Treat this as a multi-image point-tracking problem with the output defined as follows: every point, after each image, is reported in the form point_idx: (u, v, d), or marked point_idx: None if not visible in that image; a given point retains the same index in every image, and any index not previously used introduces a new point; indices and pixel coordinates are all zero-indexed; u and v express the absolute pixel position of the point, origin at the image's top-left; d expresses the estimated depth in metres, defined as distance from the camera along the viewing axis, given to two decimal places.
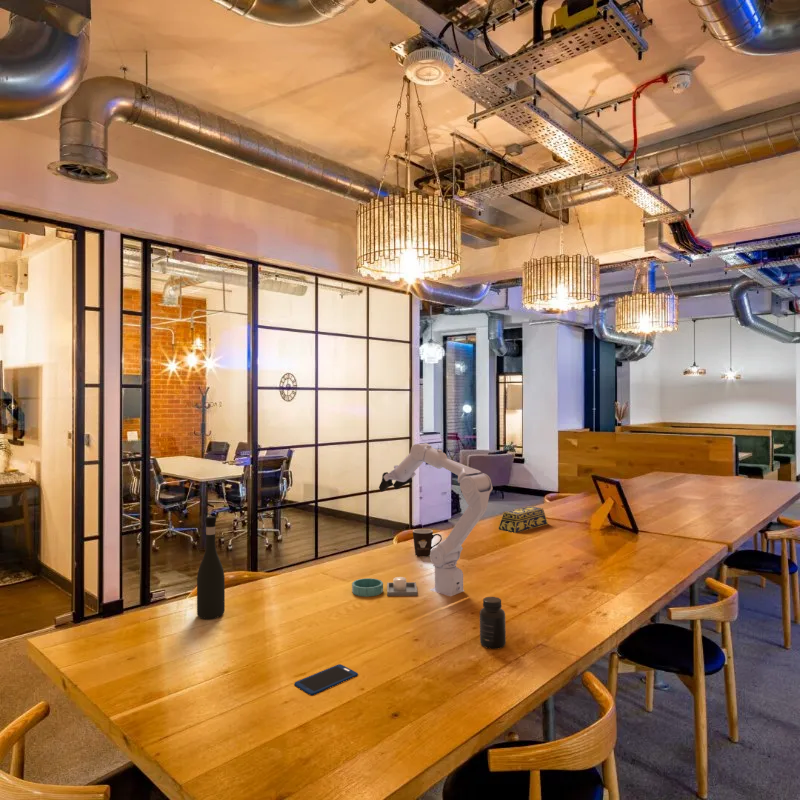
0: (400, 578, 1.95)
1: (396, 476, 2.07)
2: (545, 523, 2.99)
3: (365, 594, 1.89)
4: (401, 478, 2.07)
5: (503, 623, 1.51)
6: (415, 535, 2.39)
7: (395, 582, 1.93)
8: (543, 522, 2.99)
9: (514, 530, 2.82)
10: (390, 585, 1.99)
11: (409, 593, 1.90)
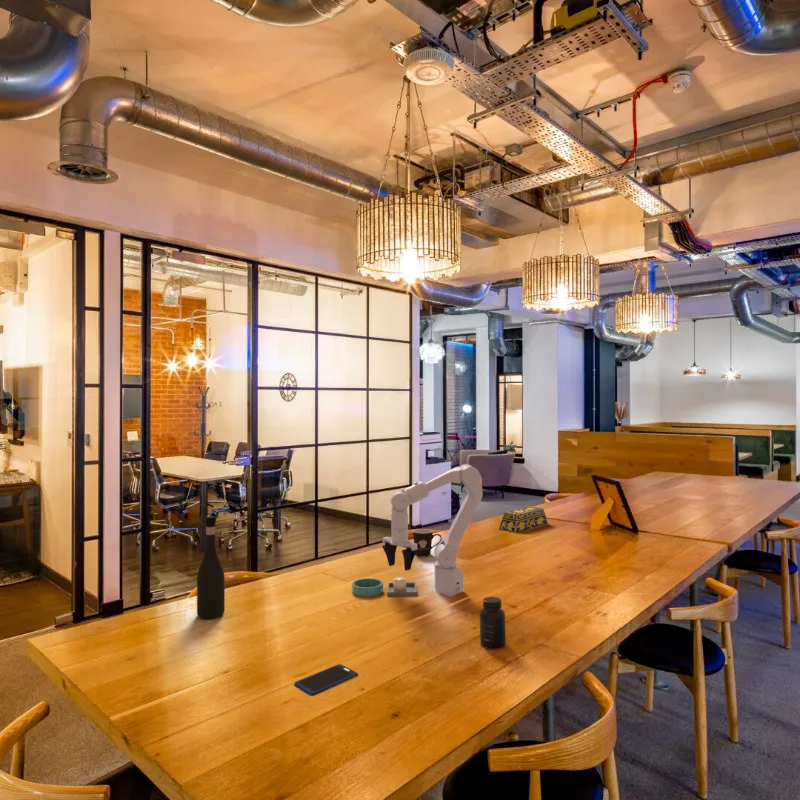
0: (400, 578, 1.95)
1: (407, 541, 1.93)
2: (545, 523, 2.99)
3: (365, 594, 1.89)
4: None
5: (503, 623, 1.51)
6: (415, 535, 2.39)
7: (395, 582, 1.93)
8: (544, 522, 2.98)
9: (515, 530, 2.81)
10: (390, 585, 1.99)
11: (409, 593, 1.90)
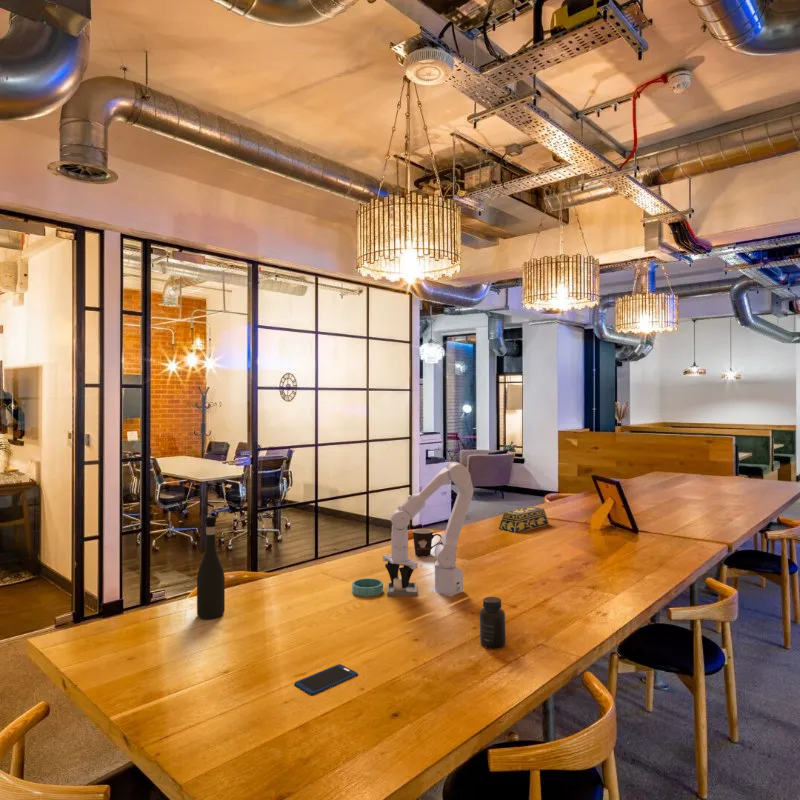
0: (400, 578, 1.95)
1: (407, 560, 1.93)
2: (546, 523, 2.99)
3: (365, 594, 1.89)
4: None
5: (503, 623, 1.51)
6: (415, 535, 2.39)
7: (395, 582, 1.93)
8: (544, 522, 2.98)
9: (514, 530, 2.82)
10: (390, 585, 1.99)
11: (409, 593, 1.90)
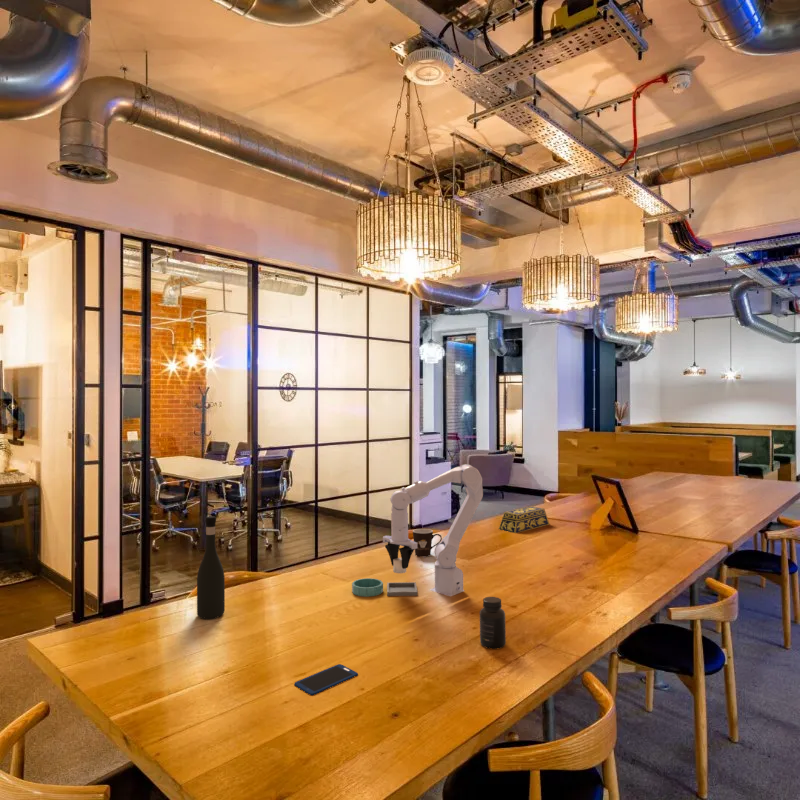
0: (400, 558, 1.95)
1: (407, 540, 1.93)
2: (546, 523, 2.99)
3: (365, 594, 1.89)
4: None
5: (503, 623, 1.51)
6: (415, 535, 2.39)
7: (395, 563, 1.93)
8: (545, 522, 2.98)
9: (514, 530, 2.81)
10: (390, 585, 1.99)
11: (409, 593, 1.90)
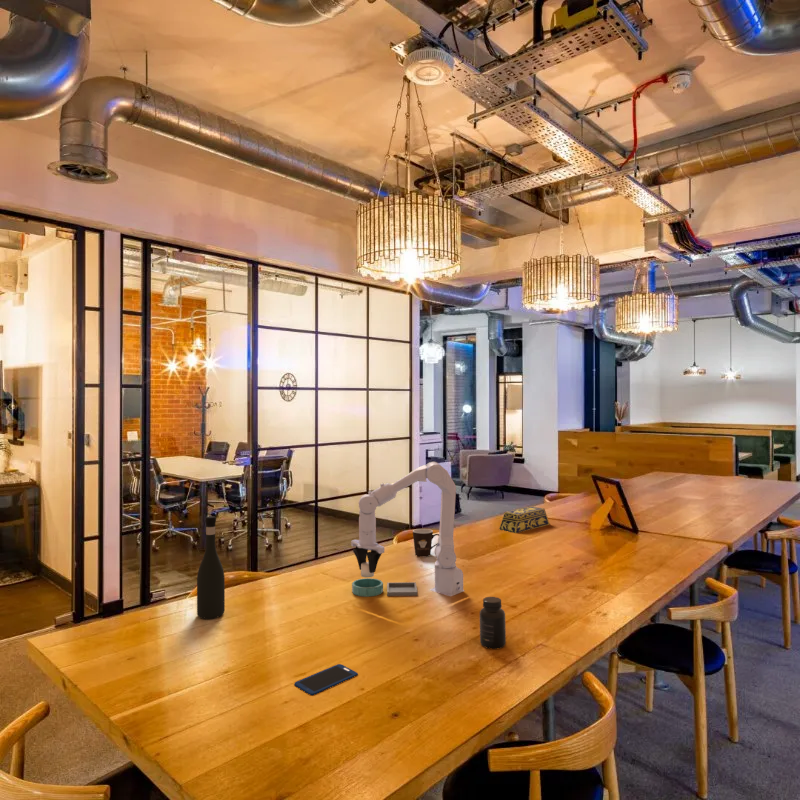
0: (368, 563, 1.95)
1: (374, 544, 1.92)
2: (547, 523, 2.99)
3: (365, 594, 1.89)
4: (375, 541, 1.94)
5: (503, 623, 1.51)
6: (415, 535, 2.39)
7: (362, 567, 1.92)
8: (545, 522, 2.98)
9: (515, 530, 2.81)
10: (390, 585, 1.99)
11: (409, 593, 1.90)
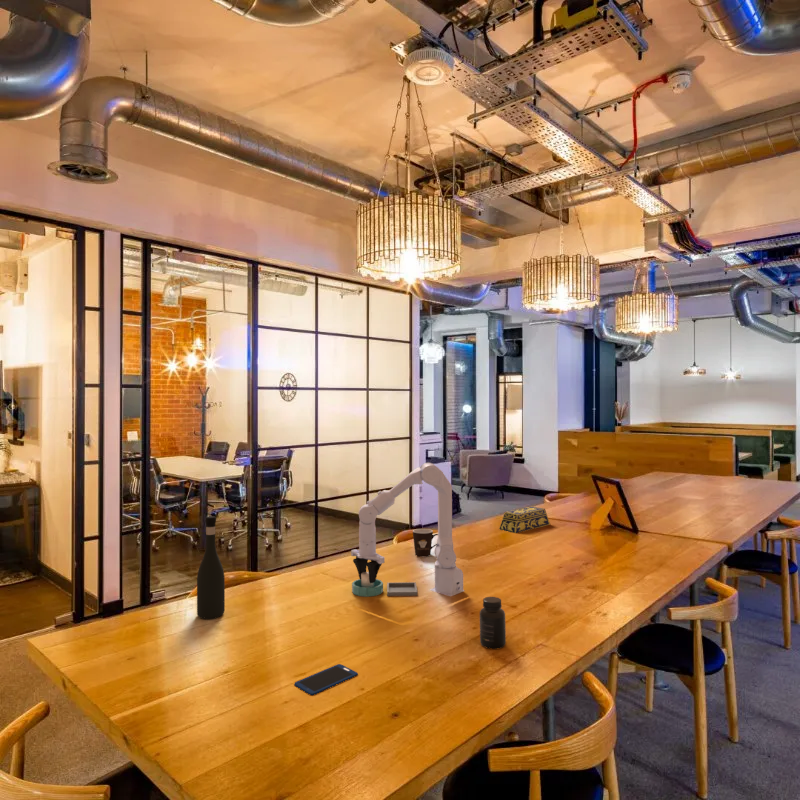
0: (368, 573, 1.95)
1: (374, 554, 1.92)
2: (547, 523, 2.98)
3: (365, 594, 1.89)
4: (375, 551, 1.94)
5: (503, 623, 1.51)
6: (415, 535, 2.39)
7: (362, 577, 1.92)
8: (545, 523, 2.98)
9: (514, 530, 2.81)
10: (390, 585, 1.99)
11: (409, 593, 1.90)
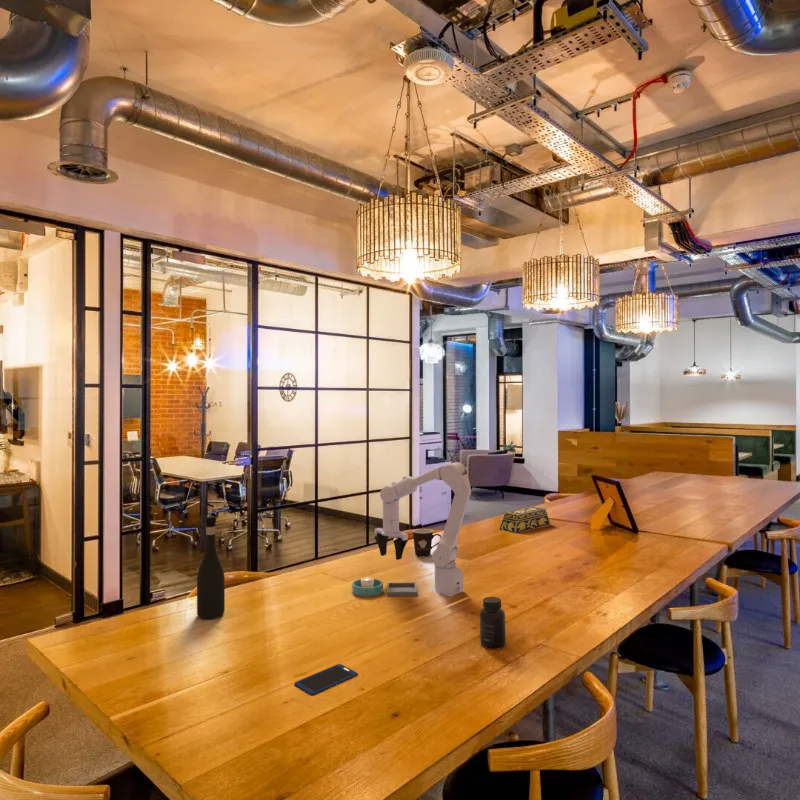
0: (367, 578, 1.95)
1: (398, 532, 2.03)
2: (548, 524, 2.98)
3: (365, 594, 1.89)
4: None
5: (503, 623, 1.51)
6: (415, 535, 2.39)
7: (362, 582, 1.93)
8: (546, 523, 2.97)
9: (514, 530, 2.81)
10: (390, 585, 1.99)
11: (409, 593, 1.90)
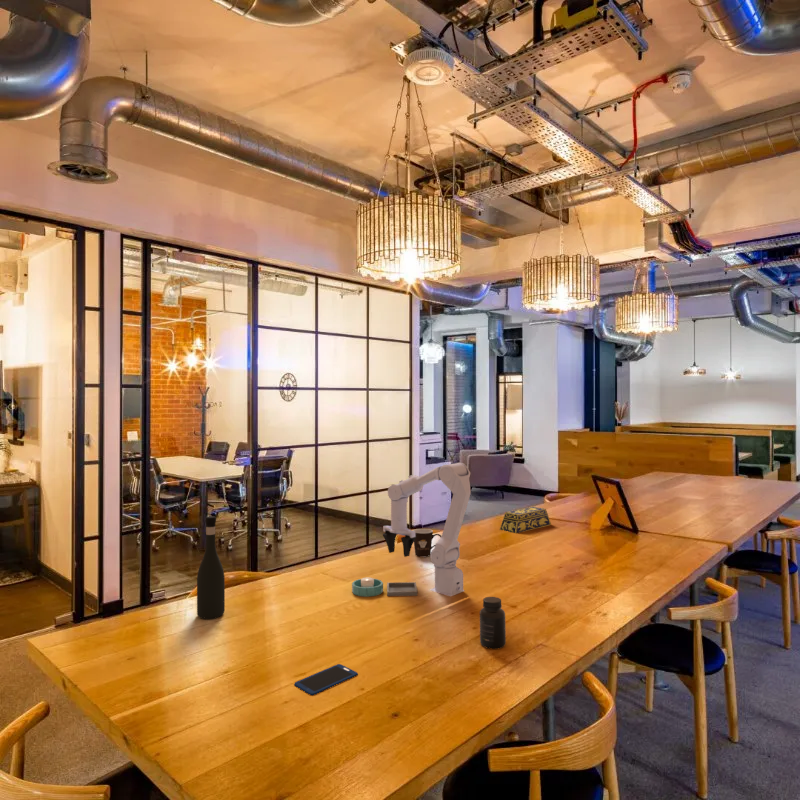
0: (367, 578, 1.95)
1: (406, 529, 2.06)
2: (548, 524, 2.98)
3: (365, 594, 1.89)
4: (406, 527, 2.08)
5: (503, 623, 1.51)
6: (415, 535, 2.39)
7: (362, 582, 1.93)
8: (546, 523, 2.97)
9: (515, 530, 2.81)
10: (390, 585, 1.99)
11: (409, 593, 1.90)
